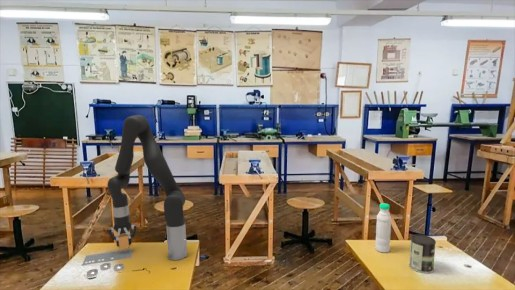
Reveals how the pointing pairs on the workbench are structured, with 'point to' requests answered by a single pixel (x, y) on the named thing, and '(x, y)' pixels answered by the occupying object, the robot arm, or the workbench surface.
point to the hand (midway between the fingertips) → (124, 245)
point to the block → (123, 241)
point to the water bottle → (383, 229)
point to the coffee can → (422, 253)
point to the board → (107, 256)
